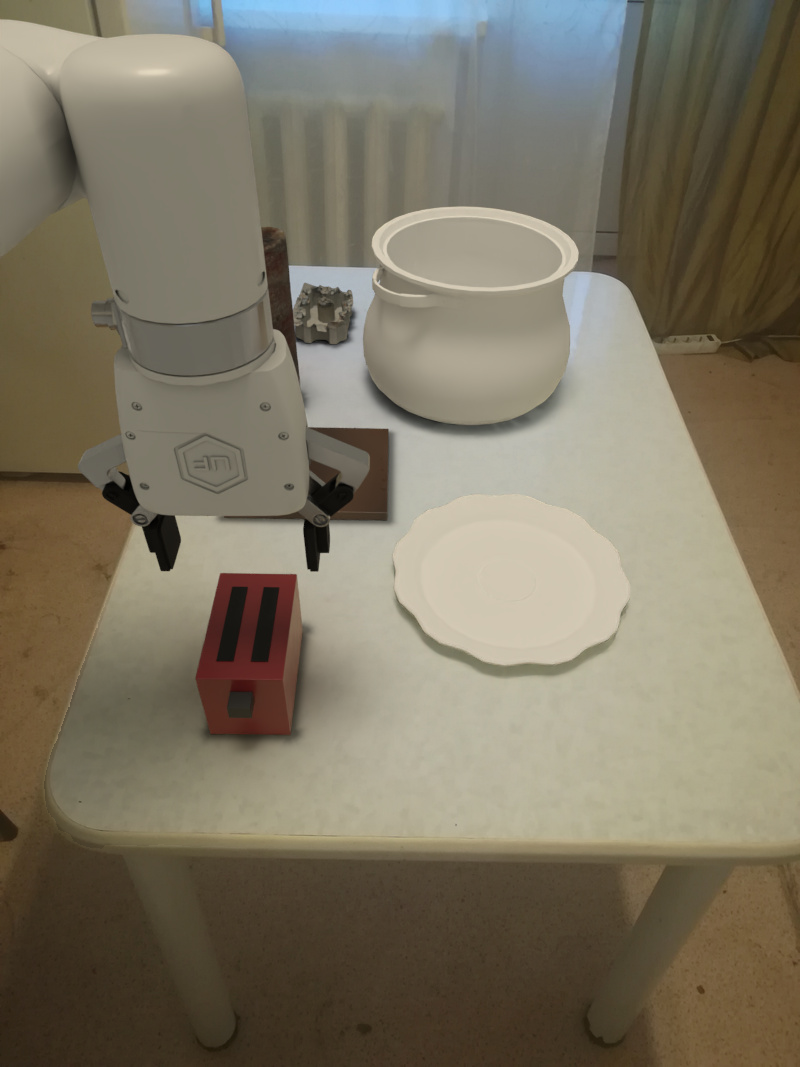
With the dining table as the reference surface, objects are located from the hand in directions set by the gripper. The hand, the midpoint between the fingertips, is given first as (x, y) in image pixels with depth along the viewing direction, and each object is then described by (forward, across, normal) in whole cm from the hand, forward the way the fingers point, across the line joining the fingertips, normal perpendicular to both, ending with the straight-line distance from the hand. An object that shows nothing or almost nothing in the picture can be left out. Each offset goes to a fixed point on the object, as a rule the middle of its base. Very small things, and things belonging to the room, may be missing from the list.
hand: (243, 556), depth 51 cm
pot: (+14, +19, +45) cm, 50 cm away
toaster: (+14, 0, 0) cm, 14 cm away
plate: (+14, +20, +11) cm, 27 cm away
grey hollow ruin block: (+14, +1, +58) cm, 59 cm away
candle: (+14, -4, +39) cm, 41 cm away
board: (+14, +2, +26) cm, 29 cm away
